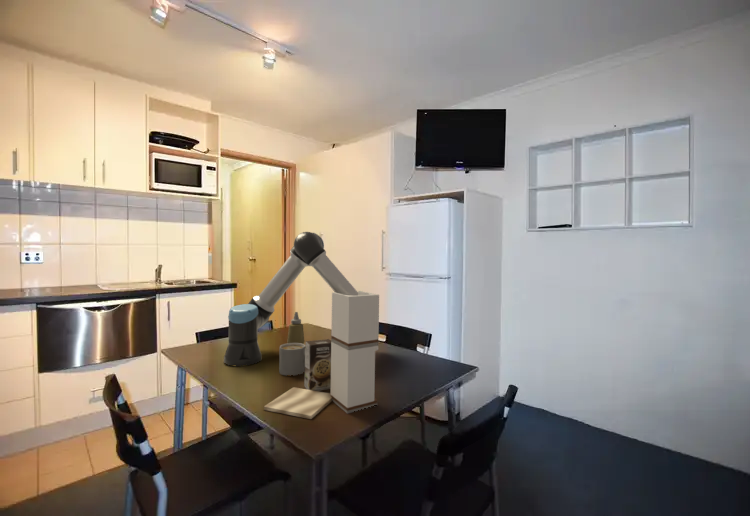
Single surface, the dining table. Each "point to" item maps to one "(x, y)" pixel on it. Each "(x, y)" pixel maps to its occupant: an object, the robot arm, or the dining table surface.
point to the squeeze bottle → (296, 331)
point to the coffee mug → (292, 359)
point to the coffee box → (318, 365)
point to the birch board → (300, 403)
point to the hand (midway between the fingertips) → (333, 348)
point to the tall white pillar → (354, 350)
